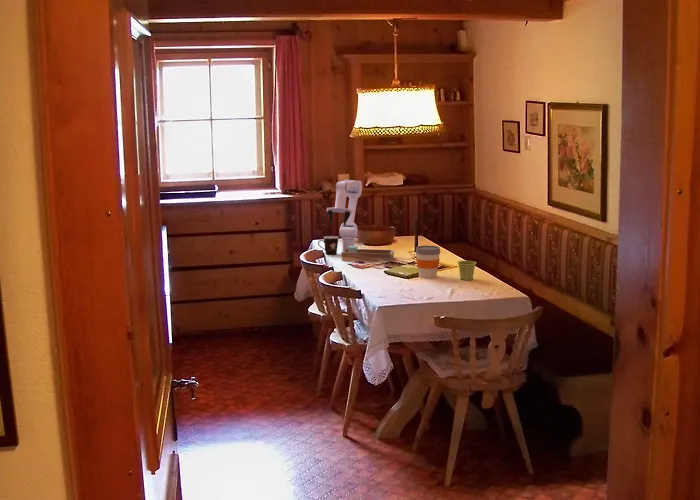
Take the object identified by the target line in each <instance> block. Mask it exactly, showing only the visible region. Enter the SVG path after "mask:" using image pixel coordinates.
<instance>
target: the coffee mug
mask: <svg viewBox="0 0 700 500" xmlns="http://www.w3.org/2000/svg"><path fill="white" fill-rule="evenodd" d="M320 242H322V243H324V247H322V246H321V245H320ZM317 244H318V246H319V247H320V248H321V249H323V250H324V251H325V255H326V256H335V255H337V253H338V245H339V236H337V235H336V236H334V235H329V236H328V235H327V236H323V239H319V241H318V242H317Z"/></svg>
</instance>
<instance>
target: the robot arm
mask: <svg viewBox="0 0 700 500" xmlns="http://www.w3.org/2000/svg"><path fill="white" fill-rule="evenodd" d="M362 192H363V182H362V180H350V179H344V180H342V181H338V182H336V184H335V193H336V194H335V204H334V207H333V206H332V207H326V213H327V214H328V216H329V223H330V225H333V217H334V213H342V214H343V213H344V218H343V219H344V220H343V223H341V225H340V227H339V234H338V235H339V237H340V238H341V239H342V241H341V242H342V244H341V246H342V247H341V248H342V251H341V252H340V255H342V252H345V249H348V247H349V246H356V243H355V242H356V240H355V239H356V238H357V237H358V225H357V224H356V223H355V217H356V211H357V203H358V199H359V198H360V197H361V196H362ZM347 197H348V199H349V200H348V206H347V208H346V201H347Z"/></svg>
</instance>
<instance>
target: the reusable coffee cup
mask: <svg viewBox="0 0 700 500" xmlns="http://www.w3.org/2000/svg"><path fill="white" fill-rule="evenodd" d="M415 254H416V257H415V258H416V259H415V260H416V261H415V262H416V268H417V271H418V277H419V278H420V279H421V278H423V279H434V278H437V273H438V268H439V267H440V266H439V265H440V255H441V248H440V246H436V245H418V246H416V248H415Z"/></svg>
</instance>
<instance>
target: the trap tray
mask: <svg viewBox="0 0 700 500" xmlns="http://www.w3.org/2000/svg"><path fill="white" fill-rule="evenodd" d="M341 252H342V251H341ZM394 254H395V251H394V249H372V248H371V249H369V248H367V249H366V248H357V253H351V252H348V249H345V252H342V254H341V261H344V262H345V261H346V262H350V261H351V262H352V261H353V262H375V261H391V262H392V261H393V260H394V257H395V256H394Z"/></svg>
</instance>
